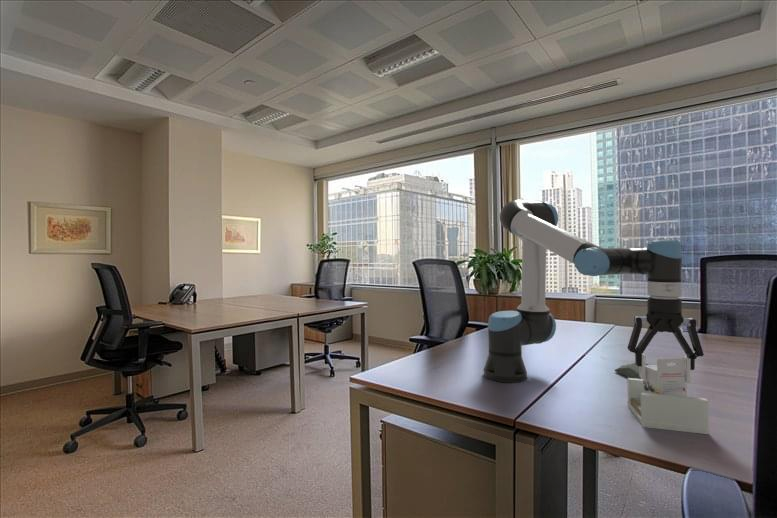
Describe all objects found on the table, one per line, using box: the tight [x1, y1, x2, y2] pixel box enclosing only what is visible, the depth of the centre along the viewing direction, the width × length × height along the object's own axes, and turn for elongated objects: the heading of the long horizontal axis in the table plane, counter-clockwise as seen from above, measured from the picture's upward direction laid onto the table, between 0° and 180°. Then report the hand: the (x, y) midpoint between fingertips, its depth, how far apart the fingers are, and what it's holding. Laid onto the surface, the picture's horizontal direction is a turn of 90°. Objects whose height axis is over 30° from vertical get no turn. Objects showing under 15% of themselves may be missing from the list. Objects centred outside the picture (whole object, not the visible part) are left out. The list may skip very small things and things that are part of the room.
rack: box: [626, 377, 710, 435], centre depth 104 cm, size 14×15×8 cm
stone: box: [614, 362, 649, 379], centre depth 138 cm, size 18×5×15 cm
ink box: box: [643, 357, 687, 397], centre depth 104 cm, size 8×5×15 cm, turn 95°
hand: (664, 379), depth 104 cm, fingers closed on ink box, 9 cm apart
